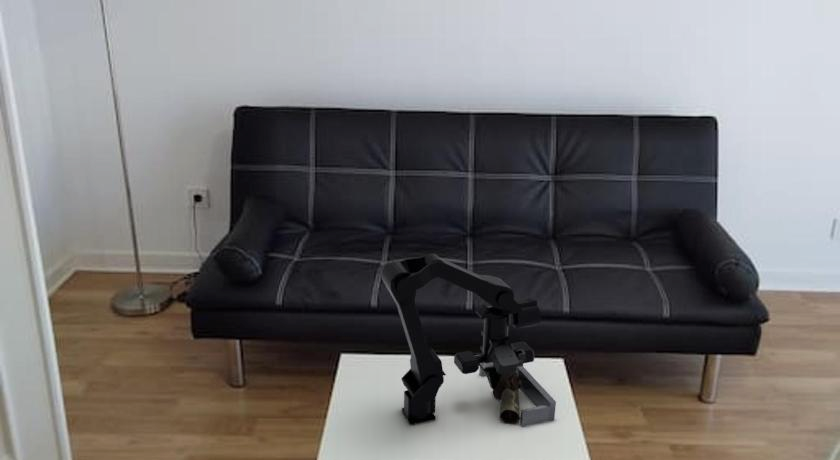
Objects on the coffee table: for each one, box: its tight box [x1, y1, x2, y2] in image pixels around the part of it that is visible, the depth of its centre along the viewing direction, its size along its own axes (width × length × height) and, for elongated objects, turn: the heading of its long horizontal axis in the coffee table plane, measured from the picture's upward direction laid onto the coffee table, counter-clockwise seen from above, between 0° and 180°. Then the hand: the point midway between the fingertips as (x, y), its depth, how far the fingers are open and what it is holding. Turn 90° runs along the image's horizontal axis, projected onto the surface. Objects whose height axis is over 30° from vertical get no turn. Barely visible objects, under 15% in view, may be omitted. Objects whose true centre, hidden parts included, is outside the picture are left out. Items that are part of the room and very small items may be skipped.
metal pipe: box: [492, 372, 521, 425], centre depth 189 cm, size 18×7×6 cm, turn 173°
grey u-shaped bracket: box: [478, 365, 557, 428], centre depth 191 cm, size 8×24×5 cm, turn 20°
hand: (492, 387), depth 189 cm, fingers closed
